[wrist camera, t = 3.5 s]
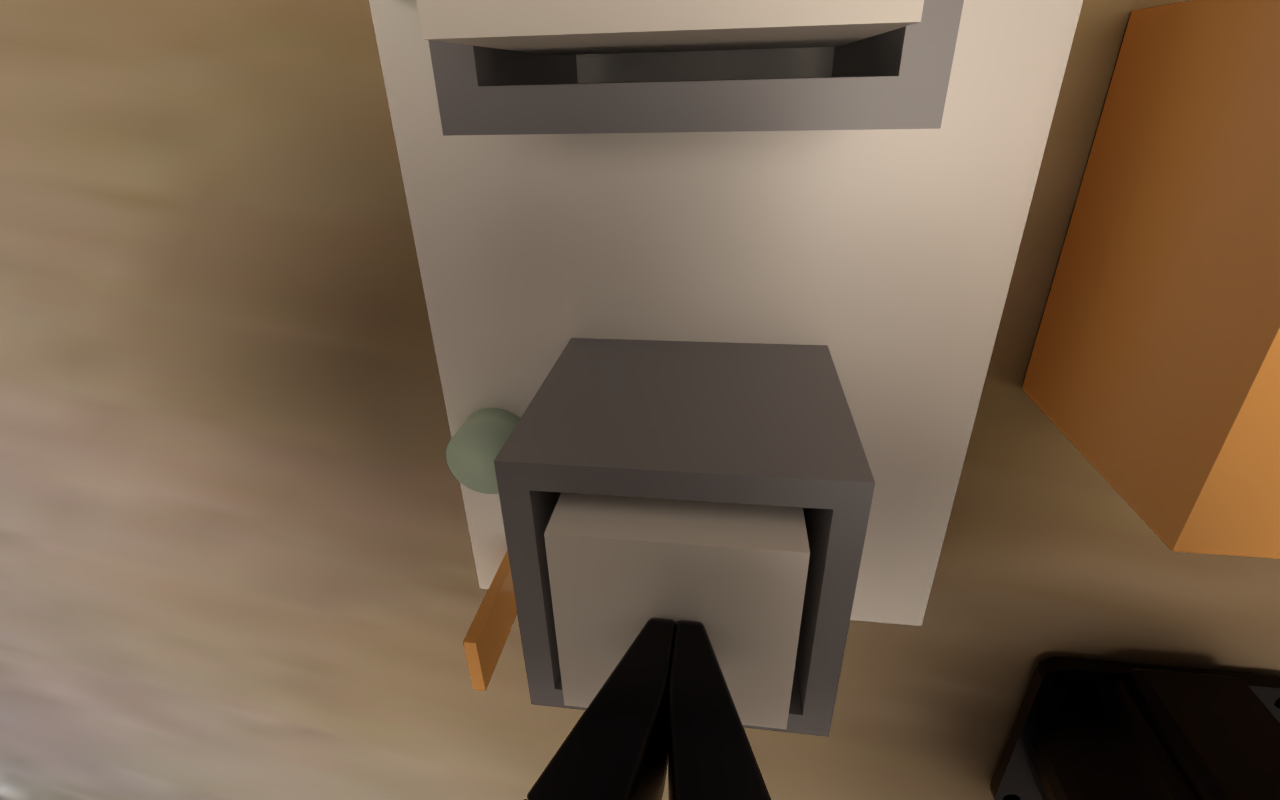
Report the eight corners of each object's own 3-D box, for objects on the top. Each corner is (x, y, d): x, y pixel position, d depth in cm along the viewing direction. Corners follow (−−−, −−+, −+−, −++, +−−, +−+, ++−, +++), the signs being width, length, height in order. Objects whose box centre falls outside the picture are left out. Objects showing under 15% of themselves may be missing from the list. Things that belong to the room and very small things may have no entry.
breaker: (773, 563, 14) (786, 729, 10) (606, 551, 14) (564, 705, 11) (787, 414, 12) (810, 552, 9) (597, 406, 13) (543, 533, 9)
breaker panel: (909, 592, 17) (991, 832, 12) (494, 559, 19) (395, 758, 13) (1185, -566, 8) (2164, -1958, 3) (325, -440, 10) (-222, -1132, 4)
